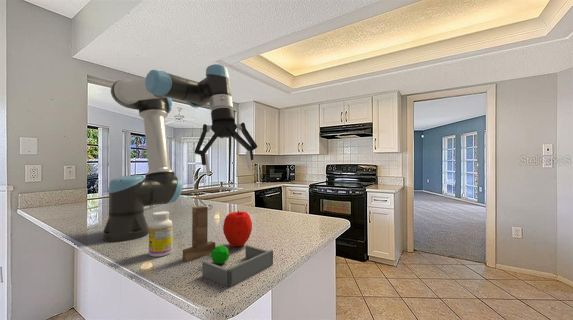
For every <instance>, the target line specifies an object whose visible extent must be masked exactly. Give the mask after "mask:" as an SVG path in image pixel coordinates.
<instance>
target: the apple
mask: <svg viewBox="0 0 573 320" xmlns="http://www.w3.org/2000/svg"><path fill="white" fill-rule="evenodd" d="M223 221H224V222H223V226H222V228H223V229H222V231H223V232H222V233H223V234H224V236H225V239H226V241H227V242H228V244H229V246H231V247H242V246H244V245H245V244H246V243H247V242H248V240H249V238H250V237H251V234H252V230H253V222H252V218H251V215H250V214H249V213H248V212H247V211H240V210H238V211H233V212H229V213H227V215H226V216H225V218H224V220H223Z"/></svg>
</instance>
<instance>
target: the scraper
mask: <svg viewBox="0 0 573 320" xmlns="http://www.w3.org/2000/svg"><path fill="white" fill-rule="evenodd" d="M191 208H192V209H191V211H192V214H191V215H192V217H191V218H192V221H191V229H192V230H191V239H192V240H191V247H187V248H184V249H182V261H184V262H186V263H188V262H191V261H194V260H196V259H197V260H198V259H200V258H202V257H205V256H208V255H211V253H212V250H213V249H215V248H216V242H215V241H212V240H211V241H210V240H209V241H208V230H209V229H208V225H209V224H208V223H209V222H208V209H209V208H208V206H205V205H198V206H192V207H191Z"/></svg>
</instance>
